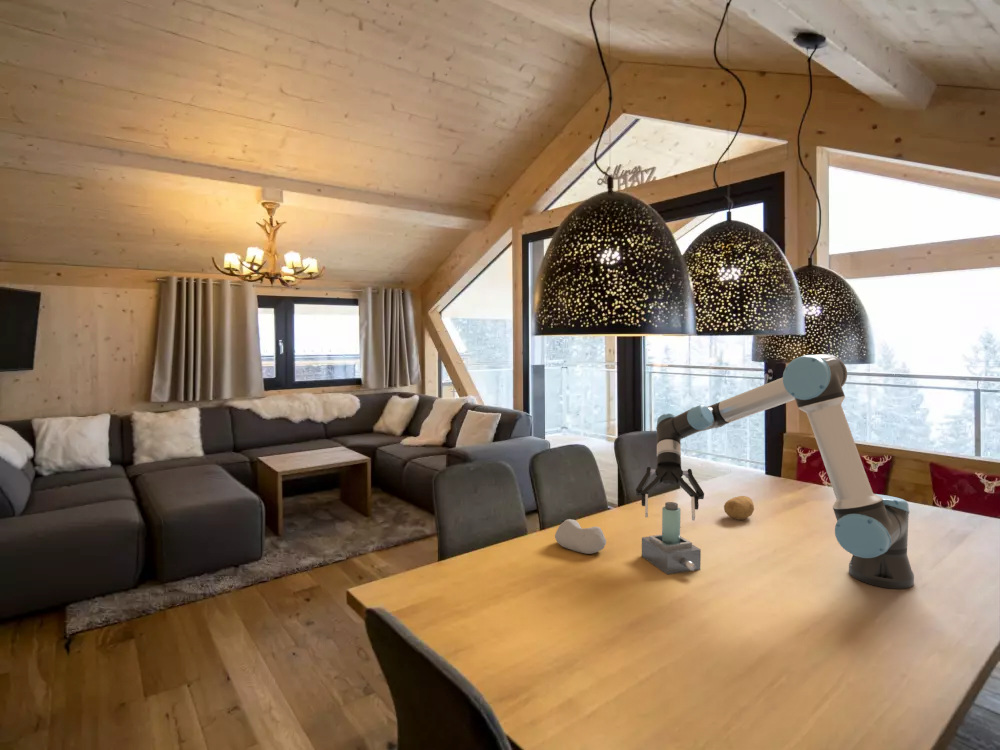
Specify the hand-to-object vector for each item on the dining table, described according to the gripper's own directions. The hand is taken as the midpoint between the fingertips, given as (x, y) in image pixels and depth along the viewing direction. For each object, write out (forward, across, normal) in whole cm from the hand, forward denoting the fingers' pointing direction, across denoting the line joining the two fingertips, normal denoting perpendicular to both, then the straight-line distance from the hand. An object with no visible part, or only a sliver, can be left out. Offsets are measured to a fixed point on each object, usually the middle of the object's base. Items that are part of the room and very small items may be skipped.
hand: (669, 517), depth 172 cm
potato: (-23, -26, -43) cm, 55 cm away
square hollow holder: (+11, 0, -8) cm, 14 cm away
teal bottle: (+6, 0, -4) cm, 8 cm away
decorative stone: (+7, +27, -13) cm, 31 cm away
